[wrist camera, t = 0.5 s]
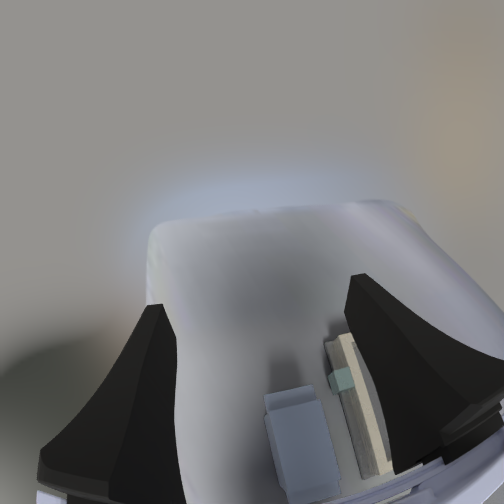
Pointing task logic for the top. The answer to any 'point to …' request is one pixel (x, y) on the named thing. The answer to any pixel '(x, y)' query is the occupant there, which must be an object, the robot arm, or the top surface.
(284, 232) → the top surface
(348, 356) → the frame
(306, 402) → the block
